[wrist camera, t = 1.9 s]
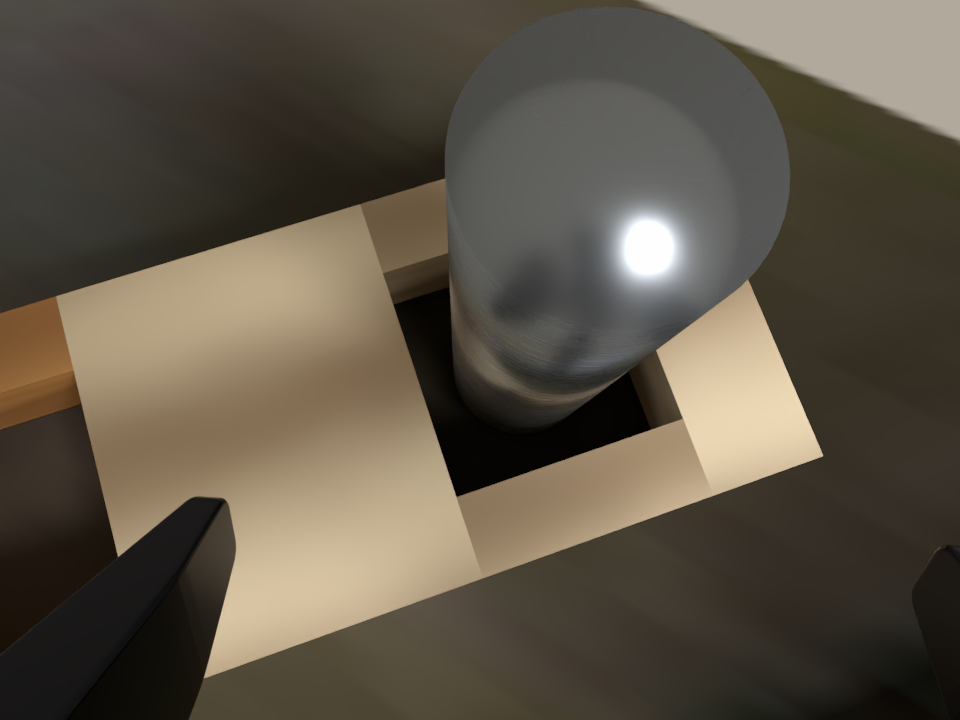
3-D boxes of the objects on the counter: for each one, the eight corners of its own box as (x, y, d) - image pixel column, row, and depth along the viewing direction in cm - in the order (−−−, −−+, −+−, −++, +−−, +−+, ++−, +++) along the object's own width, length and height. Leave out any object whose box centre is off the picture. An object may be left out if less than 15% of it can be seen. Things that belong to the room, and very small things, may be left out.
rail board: (771, 462, 20) (823, 455, 18) (-104, 774, 18) (-211, 827, 15) (646, 160, 22) (674, 108, 19) (-167, 410, 20) (-274, 396, 17)
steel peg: (607, 408, 21) (846, 266, 8) (478, 452, 20) (512, 376, 8) (560, 284, 21) (710, -31, 9) (435, 325, 21) (400, 58, 8)
